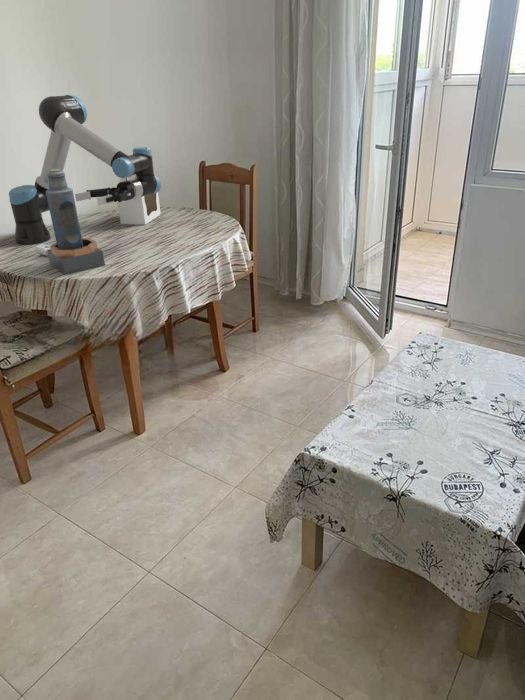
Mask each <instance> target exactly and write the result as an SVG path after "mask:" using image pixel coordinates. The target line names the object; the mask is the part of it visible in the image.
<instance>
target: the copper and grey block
mask: <svg viewBox="0 0 525 700" xmlns="http://www.w3.org/2000/svg"><path fill="white" fill-rule="evenodd" d="M82 242H83V247H80V248H76V249H59V248H58V247H57V242H56V241H55V242H54V243H53V244H50V246H49V249H47V250H46V252H47V256H48V261H49V265H50V266H51V267H52V268H54V269H56V270H58V271H59V272H60V273H62V274H63V275H65V276H66V275H70V274H73V273H74V272H75V273H78V272H82V271H86V270H91V269H95V268H100V267H104V266H106V263H105V257H104V251H103V250H102V249H101V248H98V243H97V241H95V240H94V239H92V238H87V237H86V238H85V237H83V238H82Z"/></svg>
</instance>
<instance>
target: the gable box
mask: <svg viewBox="0 0 525 700" xmlns="http://www.w3.org/2000/svg"><path fill="white" fill-rule="evenodd" d="M133 179H137V177H136V174H135V175H132V176H130V177H126V178H120V180H119V182H118V183H120V182H124V181H128V180H133ZM117 208H118V215H119V221H120V225H133V224H134V225H135V226H136V225H137V226H140V225H141V226H143V225H144V226H145V225H147V224H148V223H150V222H151V221H153V220H155V219H156V218H157V217H159V216H161V207H160V197H159V192H157V193H155V194H152V195H147V196H143V197H139V198H137V199H136V200H135V198H134V199H131V200H127V201H122V202H118V201H117Z"/></svg>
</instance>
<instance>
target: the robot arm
mask: <svg viewBox="0 0 525 700" xmlns="http://www.w3.org/2000/svg"><path fill="white" fill-rule="evenodd" d="M38 115H39V119H40V120H41V122H42V123H43V124H44V125H45V126H46V128H48V129H49V130H50V135H49V139H48V144H47V148H46V150H45V151H46V152H45V156H44V160H43V164H42V167H41V173H40V175H38V176H37V177H36V178H35V181H34V185H33V184H23V185H21V186H20V185H19V186H16V187H13V188H11V189H10V190H9V192H8V197H9V203H10V206H11V210H12V214H13V220H14V222H15V230H14V241H15V243H16V244H19V245H33V244H41V243H45V242H47V241H49V240H51V238H52V237H51V232H50V231H49V229H48V227H47V226H46V224H45V223H44V219H43V213H46V212H50V210H49V205H48V201H47V196H46V191H47V190H49V178H48V172H49V171H50V170H53V169H60V170H61V171H63V172H64V170H65V166H66V162H67V157H68V154H69V150H70V147H71V143H72V142H73V143H75V144H76V145H77V146H79V147H80V148H82V149H84V150H85V151H87V152H88V153H89V154H91V155H93V156H94V157H96V158H97V159H98V160H100V161H102V162H103V163H105V164H106V165H108V166H109V167H110V168H111V169H112V172H113V173H114V175H115V176H116V177H118V178H120V179H121V178H126V177H130V176H132V175H133V176H135V175H136V177H137V179H133V180H128V181H124V182H120V183H119V182H118V183H117V184H116V187H115V186H114V187H106V188H105V187H104V188H97V189H96V188H95V189H87V190H86V191H85V192H79V193H74V197H75V202H81V201H86V200H91V199H92V198H97V204H98V206H103V205H106V204H112V203H116V202H117V201H118V202H122V201H127V200H131V199H134V198H135V200H136V199H137V198H139V197H143V196H147V195H152V194H155V193H157V192H158V193H159V192H160V190H161V188H162V182H161V181H160V178H159V177H158V176H157V175H155V174H154V173H155V172H154V163H153V155H152V150H151V149H152V148H150V147H148V146H138V147H137V146H136V147H134V148H133V150H132V154H131V155H130V154H129V155H128V154H126V153H124V152H123V151H121V150H120V149H118V148H117V147H115V146H114V145H112V144H111V143H110V142H108V141H107V140H105V139H104V138H102V137H101V136H99V135H98V134H97V133H95V132H93V131H92V130H91V129H89V128H87V127H86V126H84V125H83V124H84V123H86V121H87V118H88V111H87V107H86V106H85V103H84V102H83V100H82V99H81V98H80V97H78V96H75V95H71V94H64V95H53V96H47V97H45V98H43V99H42V100H41V102H40V103H39V106H38ZM118 202H117V203H118Z"/></svg>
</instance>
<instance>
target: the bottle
mask: <svg viewBox="0 0 525 700" xmlns="http://www.w3.org/2000/svg"><path fill="white" fill-rule="evenodd" d="M48 178H49V190H47V191H46V196H47V201H48V205H49V214H50V218H51V223H52V227H53V232H54V233H53V234H54V237H55V243H56V242H57V247H58V248H59V249H76V248H80V247H83V242H82V237H83V236H82V233H81V227H80V221H79V218H78V217H79V216H78V211H77V205H76V199H75V194H74V191H73V188H72V187H68V183H67V180H66V173H65V171H64V170H63V171H61V170H60V169H53V170H50V171H49V172H48Z"/></svg>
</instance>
